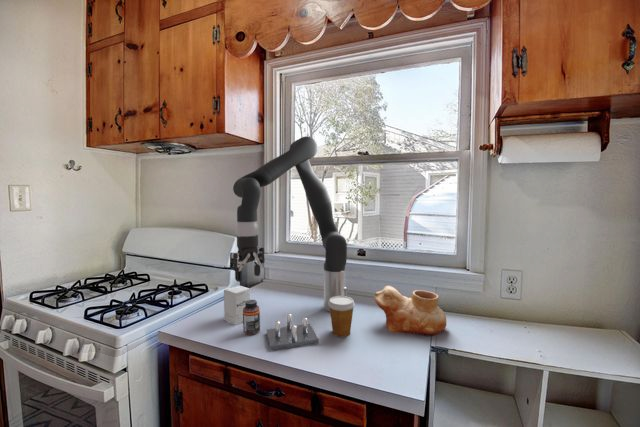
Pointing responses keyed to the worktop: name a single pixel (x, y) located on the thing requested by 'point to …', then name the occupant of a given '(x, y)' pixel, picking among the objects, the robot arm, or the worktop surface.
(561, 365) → the worktop surface
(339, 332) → the disposable coffee cup
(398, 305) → the ceramic vessel
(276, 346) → the plate
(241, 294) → the supplement box
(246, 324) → the supplement bottle
